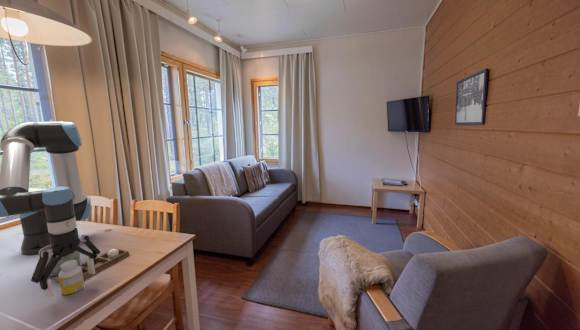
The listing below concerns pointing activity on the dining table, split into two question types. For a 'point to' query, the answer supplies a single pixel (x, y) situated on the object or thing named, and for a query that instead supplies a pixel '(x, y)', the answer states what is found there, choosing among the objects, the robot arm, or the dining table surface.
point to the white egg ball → (112, 253)
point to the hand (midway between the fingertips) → (72, 284)
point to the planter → (64, 259)
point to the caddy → (100, 263)
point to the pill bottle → (71, 278)
